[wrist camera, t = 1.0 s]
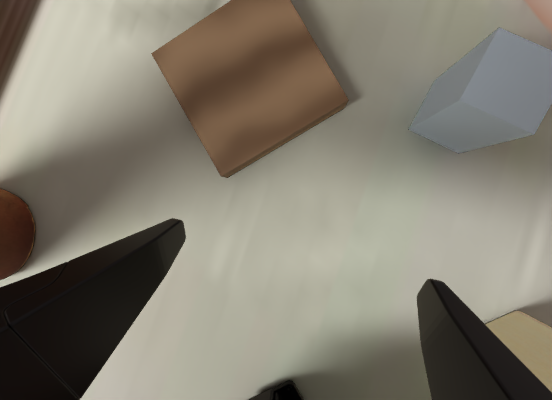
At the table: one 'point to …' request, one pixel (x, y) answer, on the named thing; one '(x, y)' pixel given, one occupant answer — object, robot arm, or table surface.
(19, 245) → the wafer roll
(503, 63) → the blue-grey block
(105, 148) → the table surface
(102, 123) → the table surface
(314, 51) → the walnut block
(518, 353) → the tall beige block
